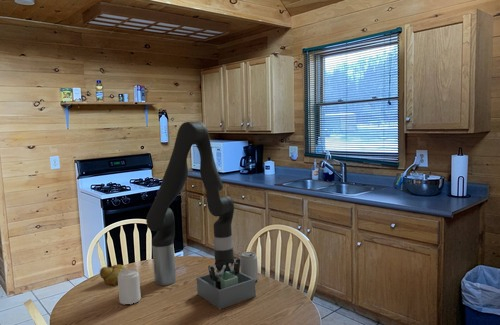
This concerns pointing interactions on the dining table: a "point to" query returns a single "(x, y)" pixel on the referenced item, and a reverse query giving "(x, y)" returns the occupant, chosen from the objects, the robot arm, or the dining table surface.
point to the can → (249, 264)
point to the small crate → (227, 280)
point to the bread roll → (111, 273)
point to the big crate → (226, 290)
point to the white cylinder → (129, 286)
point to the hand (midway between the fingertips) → (225, 287)
